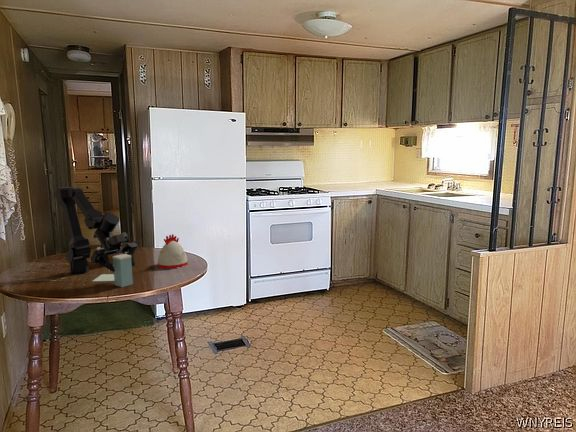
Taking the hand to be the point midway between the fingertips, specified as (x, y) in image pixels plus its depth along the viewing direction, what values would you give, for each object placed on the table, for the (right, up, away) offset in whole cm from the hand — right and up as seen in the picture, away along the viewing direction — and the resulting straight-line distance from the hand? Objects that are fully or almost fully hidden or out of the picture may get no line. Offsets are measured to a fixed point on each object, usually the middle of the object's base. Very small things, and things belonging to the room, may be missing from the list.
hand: (124, 268), depth 172 cm
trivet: (-11, -6, +11) cm, 17 cm away
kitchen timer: (+11, -3, +32) cm, 34 cm away
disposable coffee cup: (-19, -2, +36) cm, 41 cm away
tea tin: (-1, -7, +2) cm, 7 cm away
